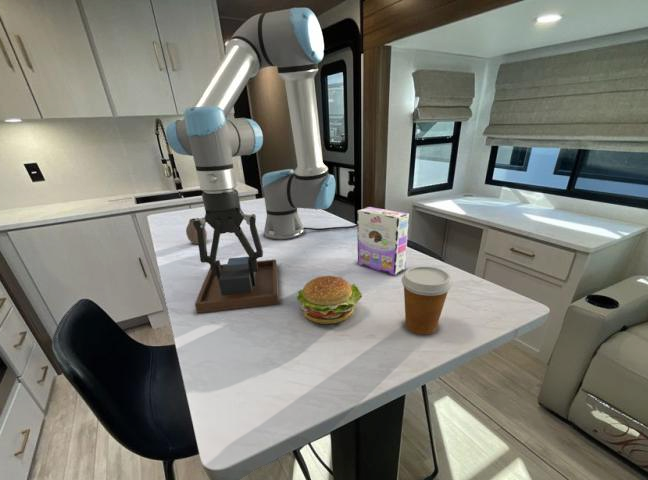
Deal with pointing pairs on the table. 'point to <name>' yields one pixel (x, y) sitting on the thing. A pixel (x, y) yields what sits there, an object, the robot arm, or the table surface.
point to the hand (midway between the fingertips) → (238, 284)
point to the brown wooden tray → (260, 295)
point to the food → (328, 299)
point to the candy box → (382, 239)
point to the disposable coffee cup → (424, 297)
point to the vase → (193, 232)
